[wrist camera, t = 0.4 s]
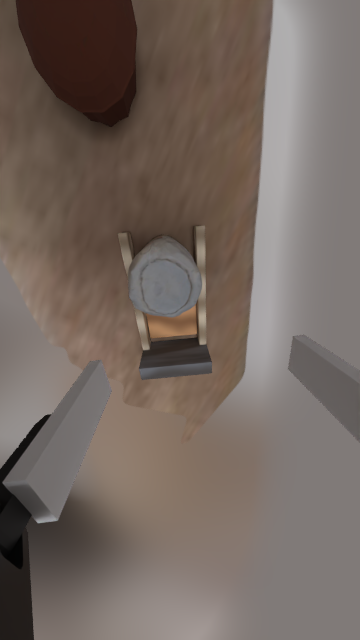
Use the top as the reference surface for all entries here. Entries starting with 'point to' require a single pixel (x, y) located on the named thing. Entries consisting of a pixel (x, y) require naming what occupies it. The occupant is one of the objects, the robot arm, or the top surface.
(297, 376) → the robot arm
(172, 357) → the track
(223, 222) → the top surface
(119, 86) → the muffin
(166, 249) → the grey cylinder
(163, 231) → the top surface
